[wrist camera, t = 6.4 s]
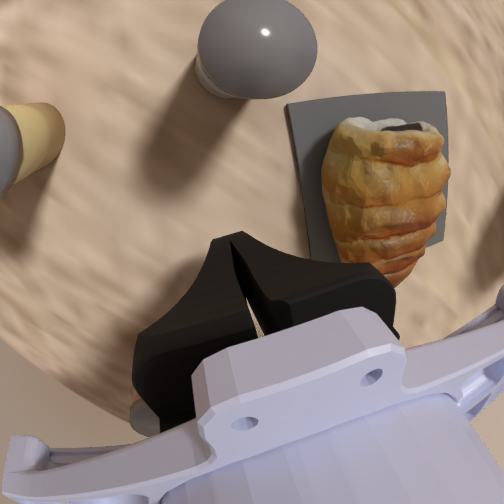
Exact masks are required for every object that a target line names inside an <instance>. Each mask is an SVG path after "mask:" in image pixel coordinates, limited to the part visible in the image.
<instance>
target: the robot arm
mask: <svg viewBox="0 0 504 504" xmlns="http://www.w3.org/2000/svg"><path fill="white" fill-rule="evenodd" d="M246 298H247V300H248V302H249V304H250V306H251V309H252V311H253V313H254V315H255V317H256V319H257V321H258V323H259V325H260V327H261V329H262V331H263V333H264V335H265V336H264V337H260V338H258V336H257V332H256V329H255V326H254V323H253V320H252V317H251V314H250V311H249V308H248V305H247V300H246ZM395 306H396V292H395V289H394V287H393V284H392V283H391V282H390V281H389V280H388V279H387V278H386V277H385V276H384V275H383V274H382V273H381V272H380V271H379V270H378V269H376V268H375V267H374V266H373V265H372V264H370V263H369V262H362V263H333V262H322V261H315V260H310V259H304V258H300V257H296V256H293V255H290V254H286V253H284V252H281V251H278V250H276V249H274V248H271V247H269V246H267V245H265V244H263V243H262V242H260V241H258V240H256V239H255V238H253V237H252V236H250V235H248V234H247V233H245V232H243V231H240V232H236V233H233V234H230V235H226V236H223V237H220V238H216V239H213V240H212V241H211V243H210V248H209V251H208V254H207V257H206V259H205V262H204V264H203V266H202V268H201V270H200V272H199V274H198V276H197V278H196V280H195V281H194V283H193V284H192V286H191V287H190V289H189V290H188V291H187V293H186V294H185V295H184V296H183V297H182V298H181V299H180V300H179V302H178V303H177V304H176V305H175V306H174V307H173V308H172V309H171V310H170V311H169V312H167V313H166V314H165V315H164V316H163V317H162V318H160V319H159V320H158V321H157V322H155V323H154V324H152V325H151V326H149V327H148V328H147V329H145V330H144V331H142V332H141V333H139V334H138V337H137V341H136V345H135V351H134V357H133V369H132V382H133V387H134V388H135V390H136V392H137V393H138V395H139V396H140V397H141V398H142V400H143V401H144V402H145V403H146V404H147V405H148V406H149V408H150V409H151V410H152V411H153V412H154V413H155V414H156V415H157V417H158V418H159V422H160V434H157V435H155V436H152V437H150V438H147V439H145V440H142V441H139V442H137V443H134V444H128V445H119V446H106V447H90V448H50V447H49V446H48V445H47V444H45V443H44V442H43V441H42V440H40V439H38V438H36V437H34V436H25V435H12V436H11V440H10V444H9V449H8V453H7V459H6V464H5V469H4V476H3V482H2V489H1V492H2V493H3V494H4V495H5V496H7V497H9V498H10V499H12V500H14V501H16V502H18V503H20V504H504V472H503V471H502V469H501V468H500V466H499V465H498V463H497V461H496V460H495V458H494V457H493V455H492V454H491V453H490V451H489V449H488V448H487V447H486V445H485V444H484V442H483V441H482V439H481V438H480V436H479V435H478V434H477V432H476V431H475V429H474V428H473V427H472V425H471V424H470V421H471V420H472V419H474V418H475V417H476V416H477V415H478V414H479V413H480V412H481V411H483V410H484V409H485V408H486V407H487V406H488V405H489V404H490V403H491V402H492V401H493V400H494V399H495V398H496V397H498V396H499V395H500V394H501V393H502V392H503V391H504V285H503V286H502V287H501V289H500V290H499V293H498V295H497V298H496V304H495V305H494V306H492V307H491V308H489V309H488V310H487V311H485V312H484V313H482V314H481V315H479V316H478V317H476V318H475V319H473V320H472V321H470V322H469V323H467V324H466V325H464V326H463V327H461V328H460V329H458V330H456V331H455V332H453V333H452V334H450V335H448V336H447V337H445V338H443V339H442V340H438V341H435V342H431V343H427V344H423V345H419V346H415V347H411V348H407V349H405V348H404V347H403V345H402V344H401V343H400V342H399V338H400V336H399V334H398V332H397V331H396V330H395V329H394V328H393V322H394V314H395Z"/></svg>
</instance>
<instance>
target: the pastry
mask: <svg viewBox="0 0 504 504" xmlns="http://www.w3.org/2000/svg"><path fill="white" fill-rule="evenodd" d="M443 144H444V137H443V136H442V135H441V134H439V132H438V130H437V129H436V128H435V127H433V126H432V125H430V124H428V123H426V122H423V121H418V122H412V123H406V122H405V121H404V120H401V119H397V118H395V119H394V118H389V119H386V120H378V121H375V122H372V121H370V120H369V119H366V118H364V117H355V118H350V117H349V118H346V119H345V120H343V121H342V122H340V123H339V124H338V125H337V127H336V128H335V130H334V132H333V135H332V137H331V139H330V142H329V145H328V148H327V152H326V154H325V157H324V160H323V164H322V167H321V179H322V195H323V198H324V201H325V208H326V212H327V215H328V221H329V225H330V228H331V231H332V235H333V238H334V241H335V244H336V247H337V251H338V254H339V258H340V261H341V263H362V262H369V263H370V264H372V265H373V266H374V267H375V268H376V269H378V270H379V271H380V272H381V273H382V274H383V275H384V276H385V277H386V278H387V279H388V280H389V281H390V282H391V283H392V284H393V287H394V288H395V287H397V285H399V284H400V283H401V282H402V281H403V280H404V279H405V278H406V277H407V276H408V275H409V274H410V273H411V271H412V270H413V268H414V266H415V265H416V263H417V260H418V259H419V258H420V257H422V256H423V255H424V254H425V247H426V243H427V241H428V240H429V239H430V238H431V237H433V236H434V235H435V233H436V220H437V218H438V216H439V215H440V214H441V213H442V212H443V211H444V209H445V208H446V199H445V197H444V195H443V193H442V189H443V187H444V185H445V184H446V182H447V181H448V179H449V178H450V173H451V171H450V167H449V165H448V163H447V161H446V159H445V158H444V156H443V155H442V153H441V150H442V146H443Z"/></svg>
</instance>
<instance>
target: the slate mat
mask: <svg viewBox="0 0 504 504" xmlns="http://www.w3.org/2000/svg"><path fill="white" fill-rule="evenodd" d="M287 109H288V114H289V119H290V125H291V130H292V135H293V141H294V146H295V152H296V158H297V164H298V170H299V176H300V182H301V189H302V195H303V202H304V208H305V215H306V222H307V230H308V237H309V245H310V253H311V260H315V261H322V262H333V263H341V261H340V258H339V254H338V251H337V247H336V244H335V241H334V238H333V235H332V231H331V228H330V225H329V221H328V215H327V212H326V208H325V201H324V198H323V195H322V179H321V167H322V164H323V160H324V157H325V154H326V152H327V148H328V145H329V142H330V139H331V137H332V135H333V132H334V130H335V128H336V127H337V125H338V124H339V123H340V122H342V121H343V120H345V119H346V118H349V117H350V118H355V117H364V118H366V119H369V120H370V121H372V122H375V121H378V120H386V119H389V118H394V119H395V118H397V119H401V120H404V121H405V122H406V123H412V122H418V121H423V122H426V123H428V124H430V125H432V126H433V127H435V128H436V129H437V130H438V132H439V134H441V135H442V136H443V137H444V144H443V146H442V150H441V153H442V155H443V156H444V158H445V159H446V161H447V163H448V122H447V107H446V95H445V92H438V91H421V92H390V93H374V94H361V95H351V96H341V97H333V98H325V99H317V100H310V101H304V102H297V103H291V104H287ZM442 193H443V195H444V197H445V199H446V208H447V193H448V181H447V182H446V184H445V185H444V187H443V189H442ZM446 208H445V209H444V211H443V212H442V213H441V214H440V215H439V216H438V218H437V220H436V233H435V235H434V236H433V237H431V238H430V239H429V240H428V241H427V243H426V247H429V246H431V245H434V244H436V243H438V242H441V241H443V239H444V230H445V220H446ZM426 247H425V248H426Z"/></svg>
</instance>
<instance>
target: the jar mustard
mask: <svg viewBox="0 0 504 504" xmlns="http://www.w3.org/2000/svg"><path fill="white" fill-rule="evenodd" d="M64 140H65V124H64V120H63V118H62V116H61V114H60V112H59V111H58V110H57V109H56V108H55V107H54V106H52V105H50V104H48V103H28V104H17V105H8V106H0V197H1V196H2V195H3V194H5V193H6V192H7V191H8V190H9V189H10V188H11V187H12V185H14V184H15V183H17V182H19V181H20V180H22V179H24V178H25V177H27V176H29V175H30V174H32V173H34V172H35V171H37V170H39V169H41V168H42V167H44V166H46V165H48V164H49V163H51V162H52V161H53V160H54V159H55V158H56V157H57V156H58V154H59V153H60V151H61V149H62V147H63V144H64Z"/></svg>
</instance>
